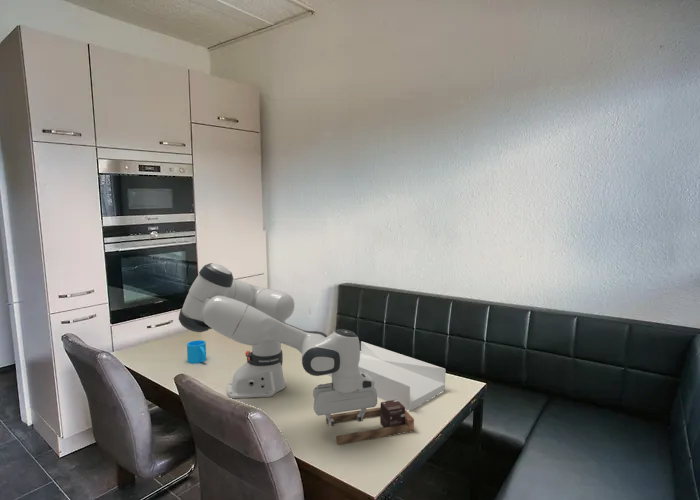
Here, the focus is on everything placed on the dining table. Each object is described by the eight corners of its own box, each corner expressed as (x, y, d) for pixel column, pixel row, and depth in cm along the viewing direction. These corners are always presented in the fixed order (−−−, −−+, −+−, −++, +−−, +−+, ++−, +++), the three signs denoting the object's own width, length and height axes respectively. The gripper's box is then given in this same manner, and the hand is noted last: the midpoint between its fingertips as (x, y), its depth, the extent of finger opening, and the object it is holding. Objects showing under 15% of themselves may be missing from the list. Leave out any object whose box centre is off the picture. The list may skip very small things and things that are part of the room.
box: (388, 432, 128) (388, 410, 127) (379, 423, 134) (380, 402, 133) (405, 429, 130) (405, 407, 130) (396, 420, 136) (396, 398, 135)
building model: (444, 392, 157) (445, 368, 156) (409, 412, 142) (410, 386, 141) (360, 361, 189) (360, 341, 188) (324, 374, 174) (324, 352, 173)
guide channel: (337, 445, 122) (337, 432, 121) (325, 421, 135) (325, 409, 134) (413, 431, 129) (414, 419, 129) (395, 410, 142) (395, 399, 142)
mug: (184, 360, 188) (183, 343, 187) (201, 355, 194) (200, 339, 193) (196, 367, 180) (196, 349, 179) (213, 362, 186) (213, 344, 185)
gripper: (315, 389, 122) (315, 433, 123) (379, 381, 128) (379, 423, 130) (311, 381, 128) (311, 423, 129) (372, 373, 134) (371, 413, 136)
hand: (345, 423), depth 130 cm, fingers open, 8 cm apart
